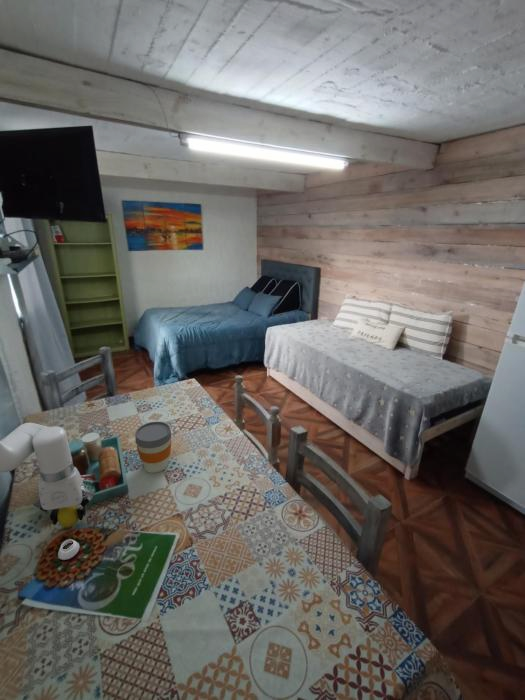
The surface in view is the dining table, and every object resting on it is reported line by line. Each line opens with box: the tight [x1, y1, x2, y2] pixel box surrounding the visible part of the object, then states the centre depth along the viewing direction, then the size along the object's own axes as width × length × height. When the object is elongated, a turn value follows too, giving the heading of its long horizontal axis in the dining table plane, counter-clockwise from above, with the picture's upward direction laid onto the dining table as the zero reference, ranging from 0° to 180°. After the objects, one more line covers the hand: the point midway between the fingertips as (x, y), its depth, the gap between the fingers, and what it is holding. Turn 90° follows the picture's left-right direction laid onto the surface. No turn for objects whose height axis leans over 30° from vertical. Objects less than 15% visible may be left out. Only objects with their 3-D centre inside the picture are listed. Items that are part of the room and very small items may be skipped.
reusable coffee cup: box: [134, 421, 173, 474], centre depth 117 cm, size 13×13×15 cm
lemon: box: [57, 506, 79, 528], centre depth 93 cm, size 6×6×8 cm
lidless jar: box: [57, 538, 81, 561], centre depth 86 cm, size 5×3×5 cm
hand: (69, 518), depth 93 cm, fingers open, 6 cm apart
